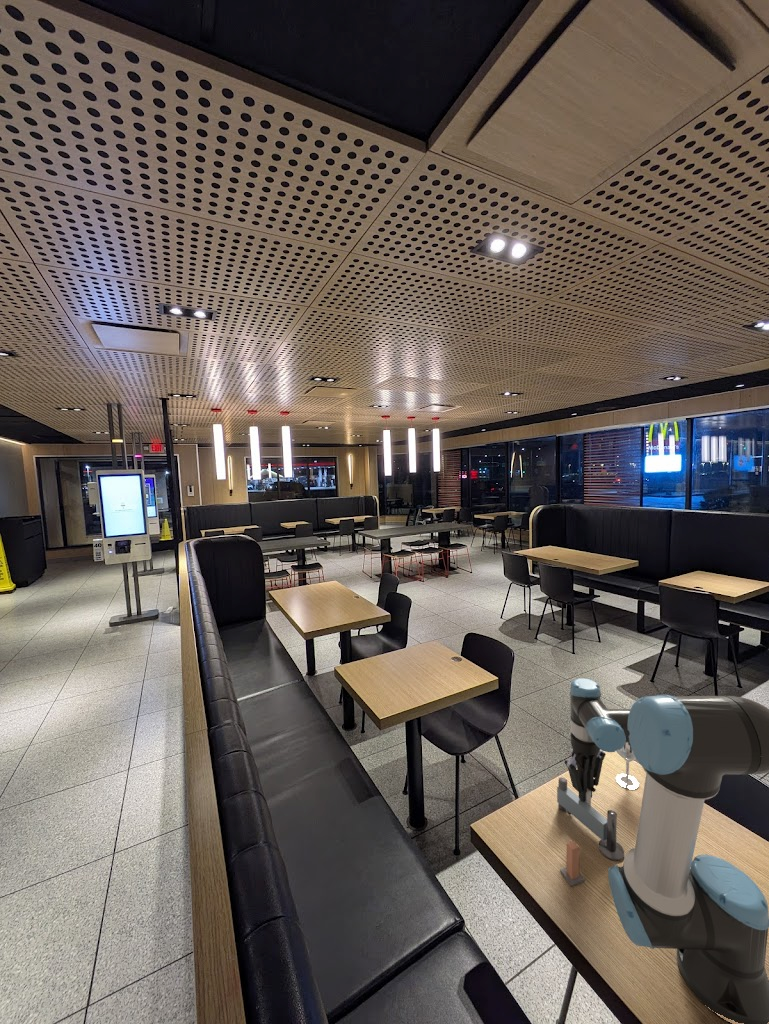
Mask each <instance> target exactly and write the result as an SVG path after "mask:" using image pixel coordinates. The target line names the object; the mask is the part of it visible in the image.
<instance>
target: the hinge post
mask: <svg viewBox="0 0 769 1024" xmlns="http://www.w3.org/2000/svg"><path fill="white" fill-rule="evenodd" d="M606 812H607V813H606V815H607V816H606V817H607V839H606V840H604V841H602V840H601V839H599V841H598V849H599V852H600V853H601V854H602V855H603V857H605V858H607V859H609V861H613V862H620V861H622V860H624V858H625V850H624V848H623V847H622V845H621V844H620V843H619V842H617V829H618V828H617V826H618V825H617V823H618V820H617V819H618V813H617V812H616V811H614V810H612V809H608V810H607V811H606Z"/></svg>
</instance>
